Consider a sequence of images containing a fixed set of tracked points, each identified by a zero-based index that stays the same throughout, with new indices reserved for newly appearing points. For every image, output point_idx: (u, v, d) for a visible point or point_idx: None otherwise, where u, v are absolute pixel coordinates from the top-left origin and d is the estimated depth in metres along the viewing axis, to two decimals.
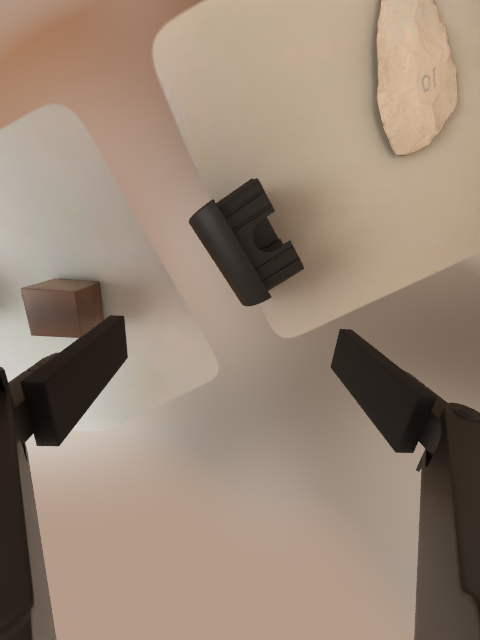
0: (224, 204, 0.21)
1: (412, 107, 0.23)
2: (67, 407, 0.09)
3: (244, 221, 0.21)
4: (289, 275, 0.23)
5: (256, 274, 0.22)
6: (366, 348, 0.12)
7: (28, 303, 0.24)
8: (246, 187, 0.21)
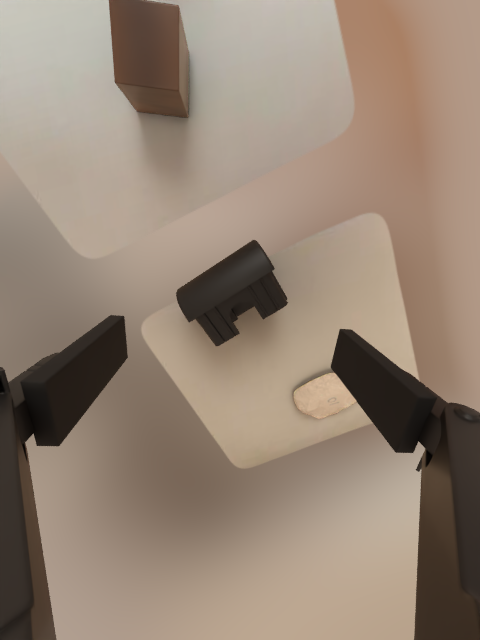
0: (269, 276, 0.24)
1: (320, 395, 0.34)
2: (67, 407, 0.09)
3: (256, 294, 0.24)
4: (209, 335, 0.26)
5: (210, 307, 0.24)
6: (366, 348, 0.12)
7: (157, 10, 0.18)
8: (281, 295, 0.25)
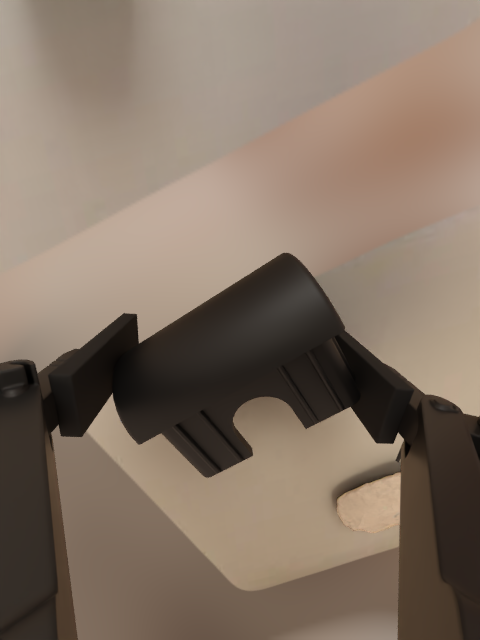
0: (327, 342, 0.10)
1: (382, 508, 0.21)
2: (89, 400, 0.10)
3: (293, 381, 0.10)
4: (188, 458, 0.12)
5: (185, 415, 0.10)
6: (352, 344, 0.13)
7: None
8: (350, 380, 0.11)
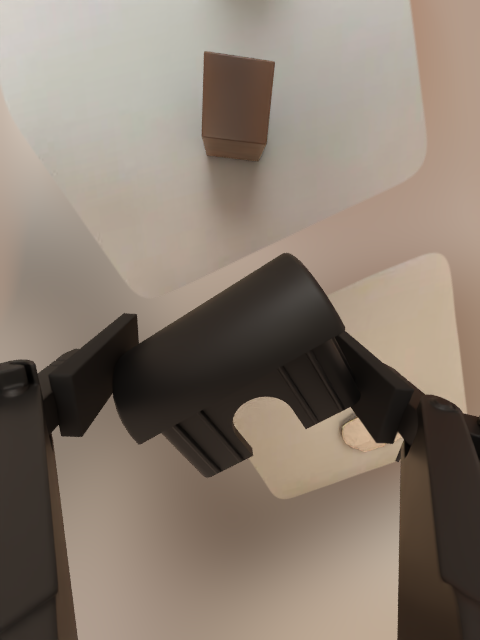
0: (327, 342, 0.10)
1: None
2: (89, 400, 0.10)
3: (293, 381, 0.10)
4: (188, 458, 0.12)
5: (185, 415, 0.10)
6: (352, 344, 0.13)
7: (252, 66, 0.17)
8: (350, 380, 0.11)
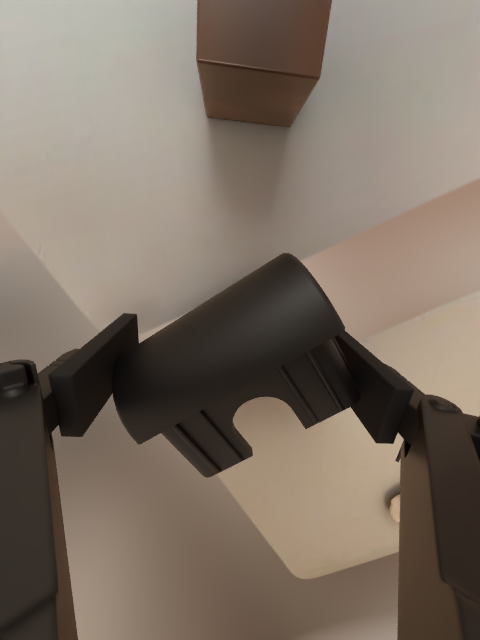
0: (326, 342, 0.10)
1: None
2: (89, 400, 0.10)
3: (293, 381, 0.10)
4: (187, 458, 0.12)
5: (185, 415, 0.10)
6: (352, 344, 0.13)
7: None
8: (350, 380, 0.11)
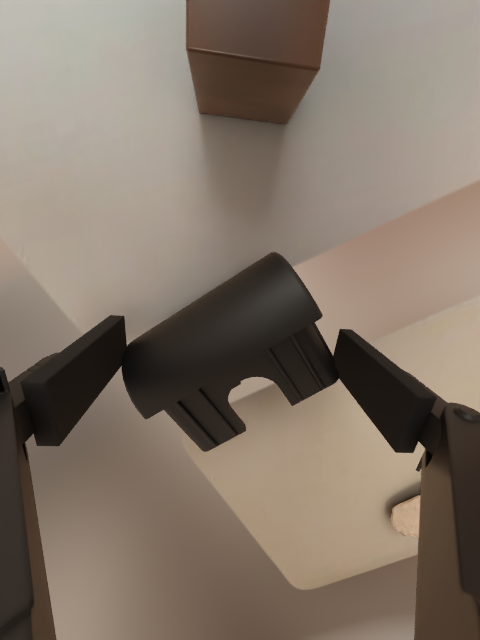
0: (308, 328, 0.12)
1: None
2: (67, 407, 0.09)
3: (280, 363, 0.12)
4: (188, 434, 0.13)
5: (186, 392, 0.12)
6: (366, 348, 0.12)
7: None
8: (329, 362, 0.12)
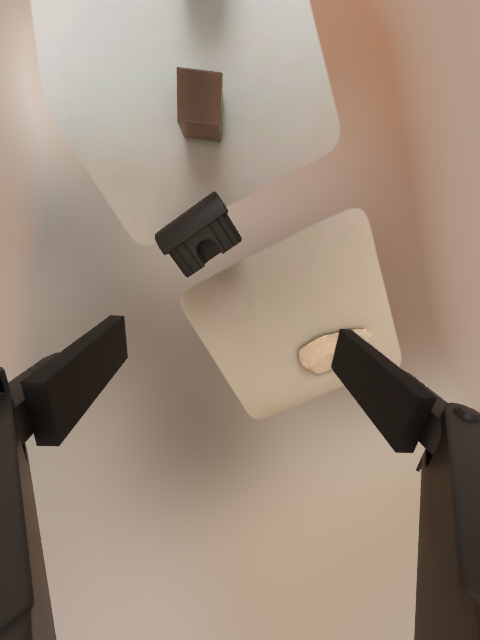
0: (224, 218, 0.31)
1: (319, 353, 0.44)
2: (67, 407, 0.09)
3: (215, 233, 0.32)
4: (181, 267, 0.33)
5: (180, 242, 0.31)
6: (366, 348, 0.12)
7: (208, 76, 0.27)
8: (235, 234, 0.32)
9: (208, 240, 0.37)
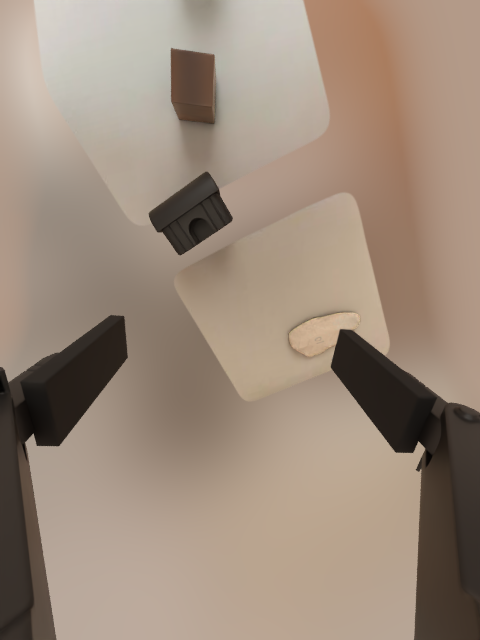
0: (216, 197, 0.32)
1: (309, 335, 0.45)
2: (67, 407, 0.09)
3: (207, 211, 0.33)
4: (174, 245, 0.34)
5: (172, 220, 0.32)
6: (366, 348, 0.12)
7: (200, 57, 0.28)
8: (226, 213, 0.33)
9: (201, 221, 0.38)
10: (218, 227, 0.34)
